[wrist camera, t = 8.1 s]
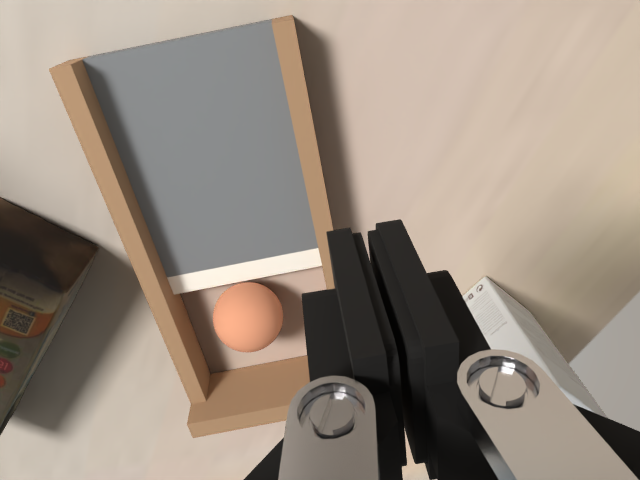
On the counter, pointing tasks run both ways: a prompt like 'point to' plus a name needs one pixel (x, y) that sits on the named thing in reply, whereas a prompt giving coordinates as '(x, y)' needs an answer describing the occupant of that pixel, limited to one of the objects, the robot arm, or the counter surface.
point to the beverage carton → (33, 294)
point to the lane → (208, 188)
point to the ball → (248, 317)
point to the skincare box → (524, 338)
